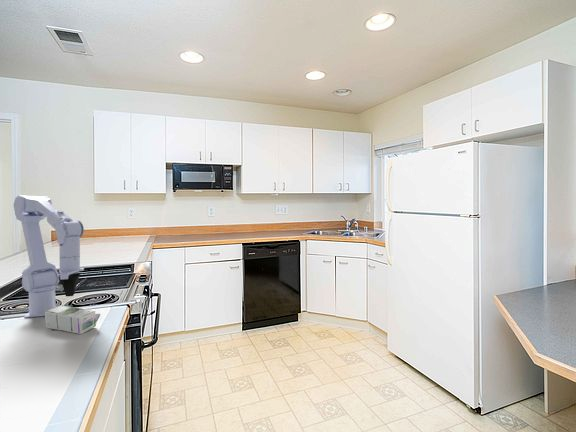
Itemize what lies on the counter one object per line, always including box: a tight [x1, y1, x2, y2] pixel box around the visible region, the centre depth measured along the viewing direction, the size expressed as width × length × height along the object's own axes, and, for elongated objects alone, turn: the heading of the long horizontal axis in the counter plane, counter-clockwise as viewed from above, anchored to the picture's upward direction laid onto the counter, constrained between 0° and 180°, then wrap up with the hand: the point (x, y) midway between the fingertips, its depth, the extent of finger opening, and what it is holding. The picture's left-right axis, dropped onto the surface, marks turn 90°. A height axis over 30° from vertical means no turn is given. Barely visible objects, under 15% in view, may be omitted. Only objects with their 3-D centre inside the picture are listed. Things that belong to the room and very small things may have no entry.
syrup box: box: [44, 304, 97, 335], centre depth 102 cm, size 6×6×14 cm
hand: (69, 295), depth 107 cm, fingers closed
